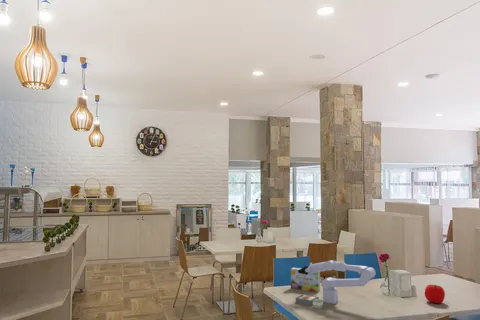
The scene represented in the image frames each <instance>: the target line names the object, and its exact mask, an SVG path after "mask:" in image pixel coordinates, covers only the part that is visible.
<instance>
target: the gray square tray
mask: <svg viewBox="0 0 480 320" xmlns="http://www.w3.org/2000/svg"><path fill="white" fill-rule="evenodd" d="M304 295H306V296H311V297H316V298H314V299H312V300H306V299H301V298H299V297H301V296H304ZM315 299H319V296H317V295H316V296H315V295H309V294H305V293H303V294H300V295H298V296H297V297H295V304H300V305H305V306H309V307H310V306H311V307H313V300H315Z"/></svg>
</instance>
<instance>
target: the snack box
mask: <svg viewBox="0 0 480 320" xmlns="http://www.w3.org/2000/svg"><path fill="white" fill-rule="evenodd" d="M302 268H303V267H292V268H290V289H291V290H299V291H304V292H306V291H307V292H312V293H319V292H320V291H321V272H316V273H310V272H308V275H306V274H301V273H298V270H299V269H302Z"/></svg>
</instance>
